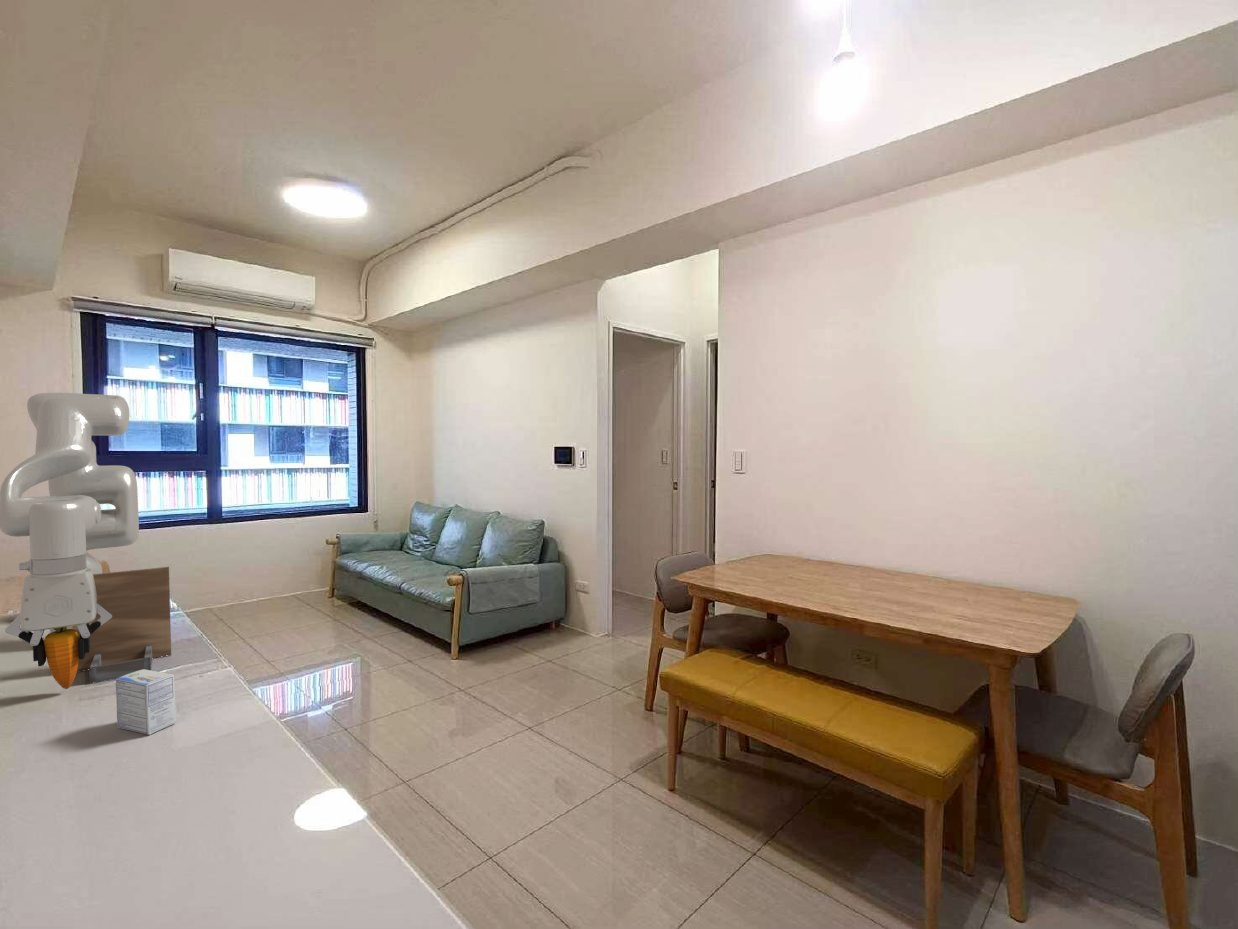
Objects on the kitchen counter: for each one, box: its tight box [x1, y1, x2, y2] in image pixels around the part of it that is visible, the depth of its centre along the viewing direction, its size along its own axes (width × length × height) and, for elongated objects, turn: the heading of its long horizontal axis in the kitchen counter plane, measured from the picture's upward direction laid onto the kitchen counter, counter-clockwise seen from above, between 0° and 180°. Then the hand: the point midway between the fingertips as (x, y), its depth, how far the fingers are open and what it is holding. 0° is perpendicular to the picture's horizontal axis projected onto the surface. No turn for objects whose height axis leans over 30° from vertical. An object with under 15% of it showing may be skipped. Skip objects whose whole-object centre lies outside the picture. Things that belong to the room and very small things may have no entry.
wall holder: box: [72, 566, 172, 684], centre depth 121 cm, size 11×16×20 cm
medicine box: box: [115, 669, 177, 735], centre depth 96 cm, size 8×4×9 cm, turn 71°
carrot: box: [43, 627, 79, 690], centre depth 109 cm, size 5×5×15 cm
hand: (62, 659), depth 108 cm, fingers closed on carrot, 4 cm apart
